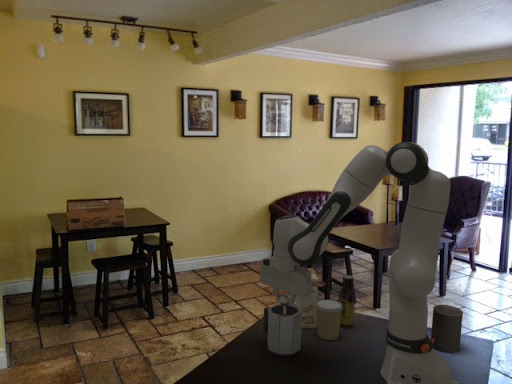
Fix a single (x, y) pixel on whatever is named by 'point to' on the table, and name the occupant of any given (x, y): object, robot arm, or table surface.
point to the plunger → (284, 302)
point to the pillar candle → (446, 328)
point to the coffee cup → (328, 319)
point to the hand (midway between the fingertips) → (284, 302)
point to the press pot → (283, 330)
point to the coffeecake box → (309, 304)
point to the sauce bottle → (347, 302)
